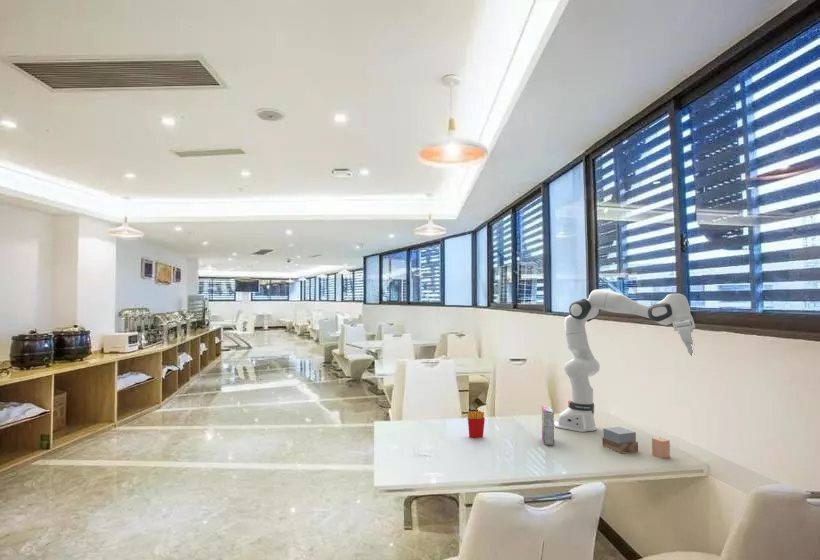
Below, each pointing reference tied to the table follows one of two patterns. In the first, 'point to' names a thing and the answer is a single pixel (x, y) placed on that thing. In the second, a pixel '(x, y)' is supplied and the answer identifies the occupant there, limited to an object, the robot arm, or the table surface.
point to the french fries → (476, 424)
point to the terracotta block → (661, 447)
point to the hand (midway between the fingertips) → (691, 354)
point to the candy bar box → (547, 425)
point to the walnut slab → (620, 446)
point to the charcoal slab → (619, 435)
